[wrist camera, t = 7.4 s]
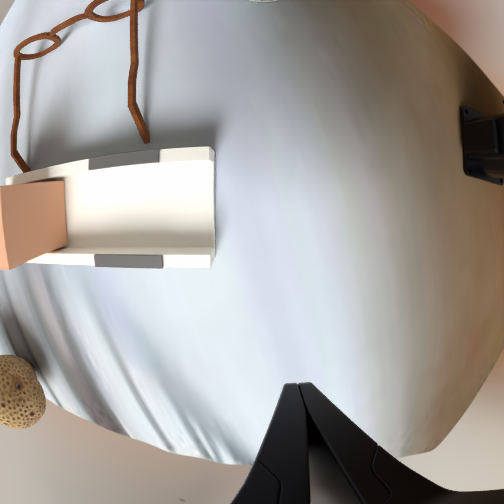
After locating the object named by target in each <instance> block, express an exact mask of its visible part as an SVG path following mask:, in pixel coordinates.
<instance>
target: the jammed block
mask: <svg viewBox="0 0 504 504" xmlns="http://www.w3.org/2000/svg"><path fill="white" fill-rule="evenodd" d="M67 244H68V236H67V226H66V213H65V194H64V181H51V182H37V183H25V184H15V185H5V186H0V269H4V270H10V269H12V268H15V267H17V266H19V265H21V264H23V263H25V262H27V261H30V260H32V259H34V258H36V257H39V256H41V255H43V254H45V253H48V252H50V251H52V250H55V249H57V248H60V247H62V246H64V245H67Z"/></svg>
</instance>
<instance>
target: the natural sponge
mask: <svg viewBox="0 0 504 504" xmlns="http://www.w3.org/2000/svg"><path fill="white" fill-rule="evenodd" d="M45 406H46V400H45V395H44V391H43V389H42V386H41V384H40V383H39V381H38V380H37V376H36V373H35V371H34V369H33V367H32V366H31V365H30V363H29V362H27V361H26V360H24V359H22V358H20V357H18V356H13V355H0V423H1V424H3V425H6V426H8V427H12V428H15V429H24V428H27V427H30V426H32V425H34V424H35V423H36V422H37V421H38V420H39V419H40V418H41V417H42V415H43V414H44V412H45Z"/></svg>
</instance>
